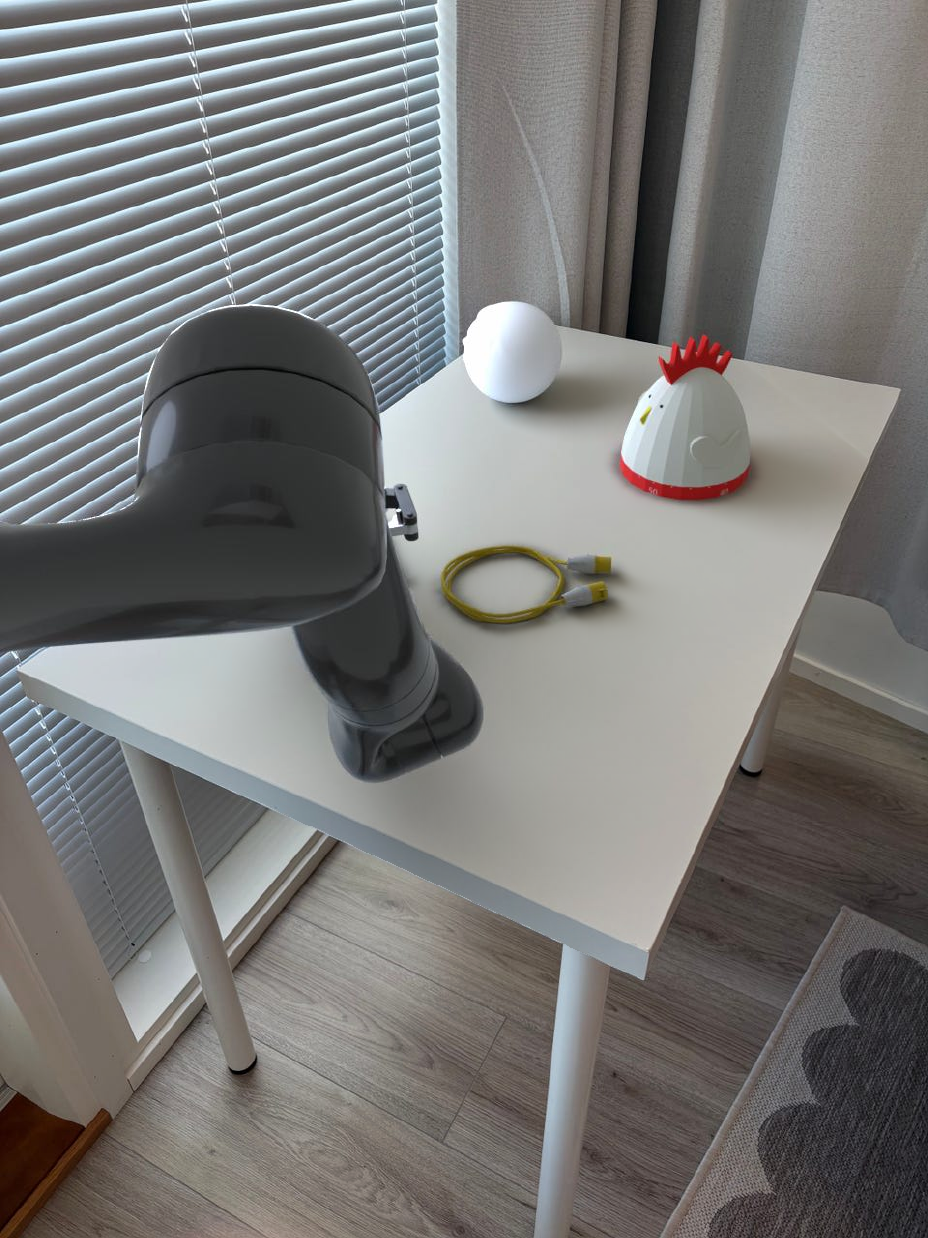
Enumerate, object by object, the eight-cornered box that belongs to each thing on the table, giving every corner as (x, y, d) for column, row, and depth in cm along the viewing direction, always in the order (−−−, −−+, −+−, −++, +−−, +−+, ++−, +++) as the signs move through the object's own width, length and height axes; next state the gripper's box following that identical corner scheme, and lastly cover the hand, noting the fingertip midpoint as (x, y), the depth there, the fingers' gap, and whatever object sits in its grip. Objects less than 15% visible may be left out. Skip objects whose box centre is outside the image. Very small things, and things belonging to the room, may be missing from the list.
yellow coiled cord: (580, 650, 82) (581, 633, 81) (420, 606, 88) (418, 589, 87) (625, 573, 90) (627, 556, 89) (476, 537, 96) (475, 520, 95)
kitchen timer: (599, 451, 109) (606, 323, 99) (705, 427, 112) (722, 302, 102) (658, 512, 98) (672, 377, 89) (773, 484, 102) (798, 351, 92)
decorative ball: (475, 374, 126) (472, 284, 118) (566, 379, 123) (568, 288, 116) (457, 417, 117) (452, 322, 109) (554, 422, 114) (556, 326, 107)
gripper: (437, 526, 76) (391, 435, 89) (261, 561, 74) (237, 462, 86) (442, 599, 81) (397, 503, 93) (276, 635, 78) (252, 531, 90)
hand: (321, 484), depth 90 cm, fingers open, 8 cm apart
